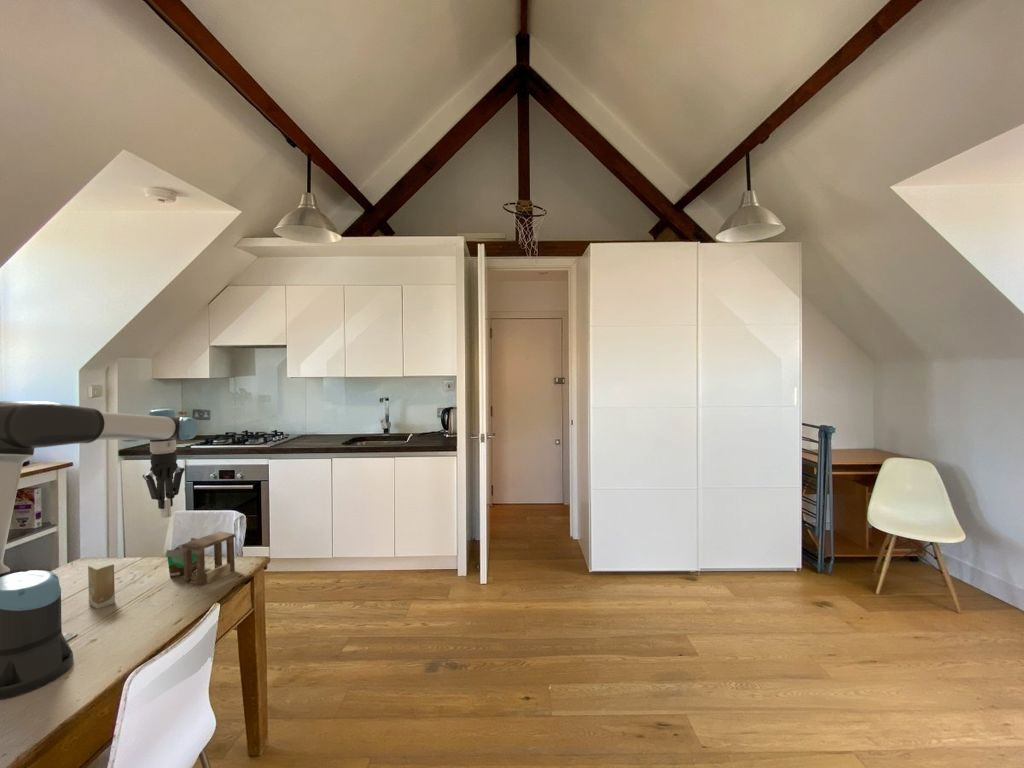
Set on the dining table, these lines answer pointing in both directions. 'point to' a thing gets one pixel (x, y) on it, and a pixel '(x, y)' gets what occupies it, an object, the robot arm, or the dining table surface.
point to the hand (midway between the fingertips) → (166, 516)
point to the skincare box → (101, 584)
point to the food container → (179, 561)
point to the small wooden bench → (200, 558)
